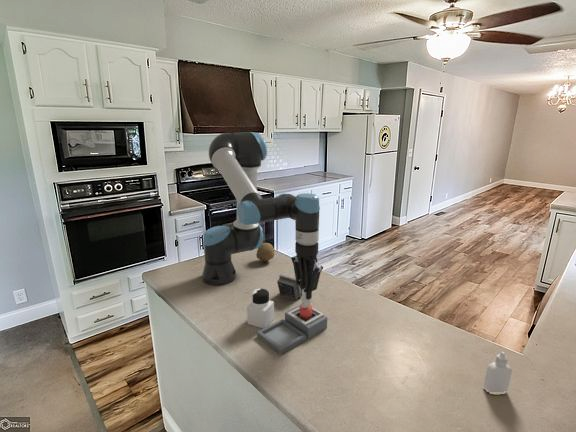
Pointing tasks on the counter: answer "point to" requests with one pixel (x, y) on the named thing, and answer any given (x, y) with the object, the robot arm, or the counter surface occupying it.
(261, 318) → the medicine bottle
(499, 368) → the eye dropper bottle
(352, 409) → the counter surface
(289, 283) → the electrical switch
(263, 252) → the natural sponge
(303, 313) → the button
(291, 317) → the console
